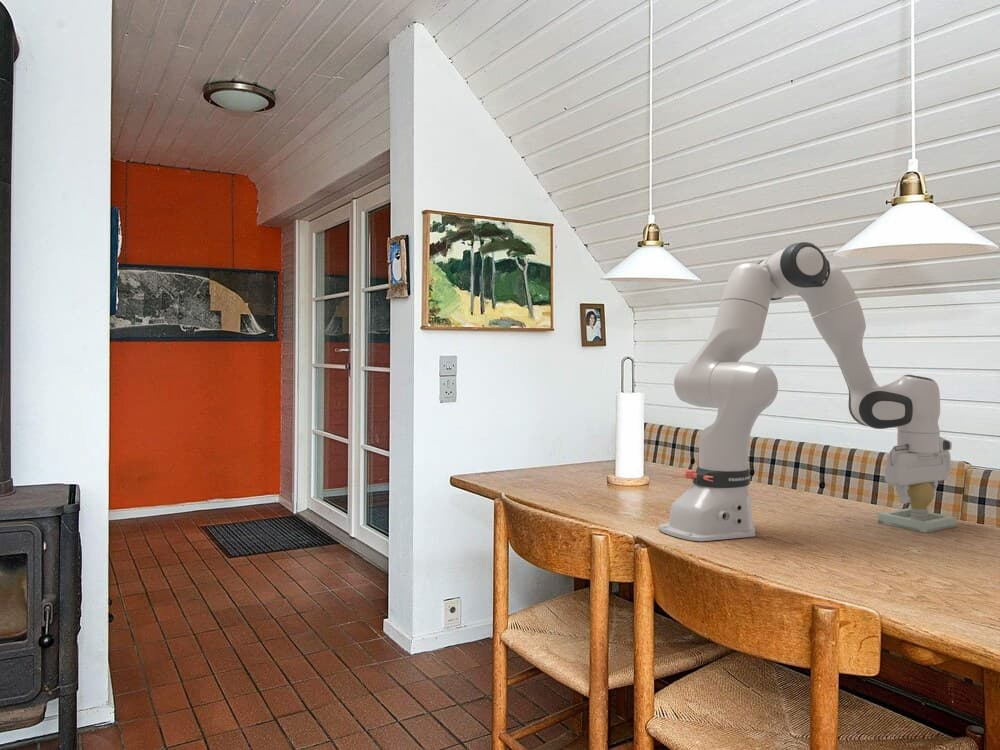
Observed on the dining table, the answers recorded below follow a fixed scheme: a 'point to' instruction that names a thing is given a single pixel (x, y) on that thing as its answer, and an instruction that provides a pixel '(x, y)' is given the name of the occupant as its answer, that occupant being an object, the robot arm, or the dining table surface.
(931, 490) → the light bulb
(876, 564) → the dining table surface
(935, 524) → the tray
